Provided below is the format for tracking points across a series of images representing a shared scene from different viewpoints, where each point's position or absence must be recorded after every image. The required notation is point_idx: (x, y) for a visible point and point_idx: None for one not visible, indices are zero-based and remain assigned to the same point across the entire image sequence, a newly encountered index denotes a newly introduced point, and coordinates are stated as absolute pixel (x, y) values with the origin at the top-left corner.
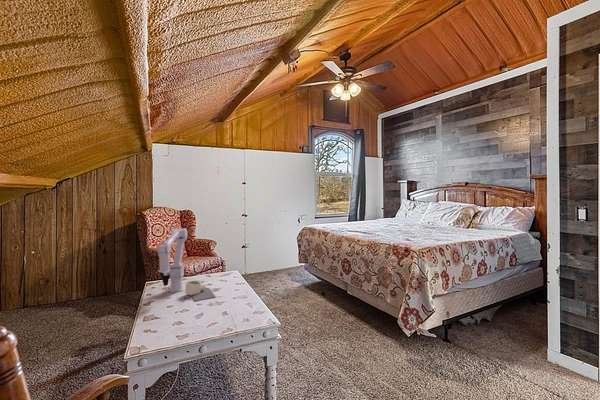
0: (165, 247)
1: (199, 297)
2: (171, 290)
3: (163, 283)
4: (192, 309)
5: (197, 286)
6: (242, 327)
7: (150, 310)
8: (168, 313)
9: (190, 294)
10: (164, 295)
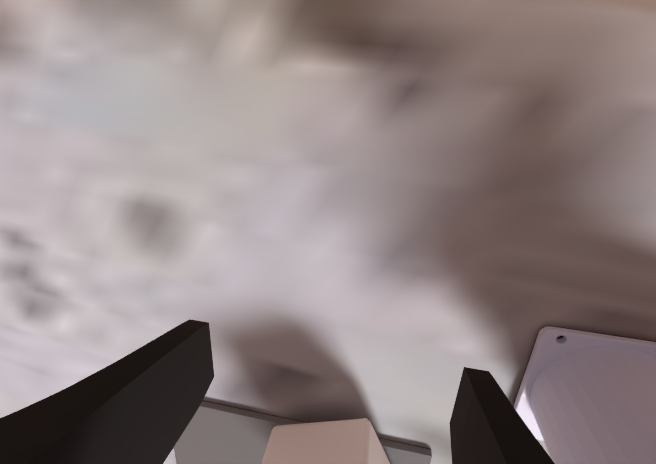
0: None
1: (217, 442)
2: (598, 352)
3: (141, 347)
4: (34, 335)
5: None
6: None
7: (119, 34)
8: (5, 182)
9: (276, 429)
10: (523, 249)
